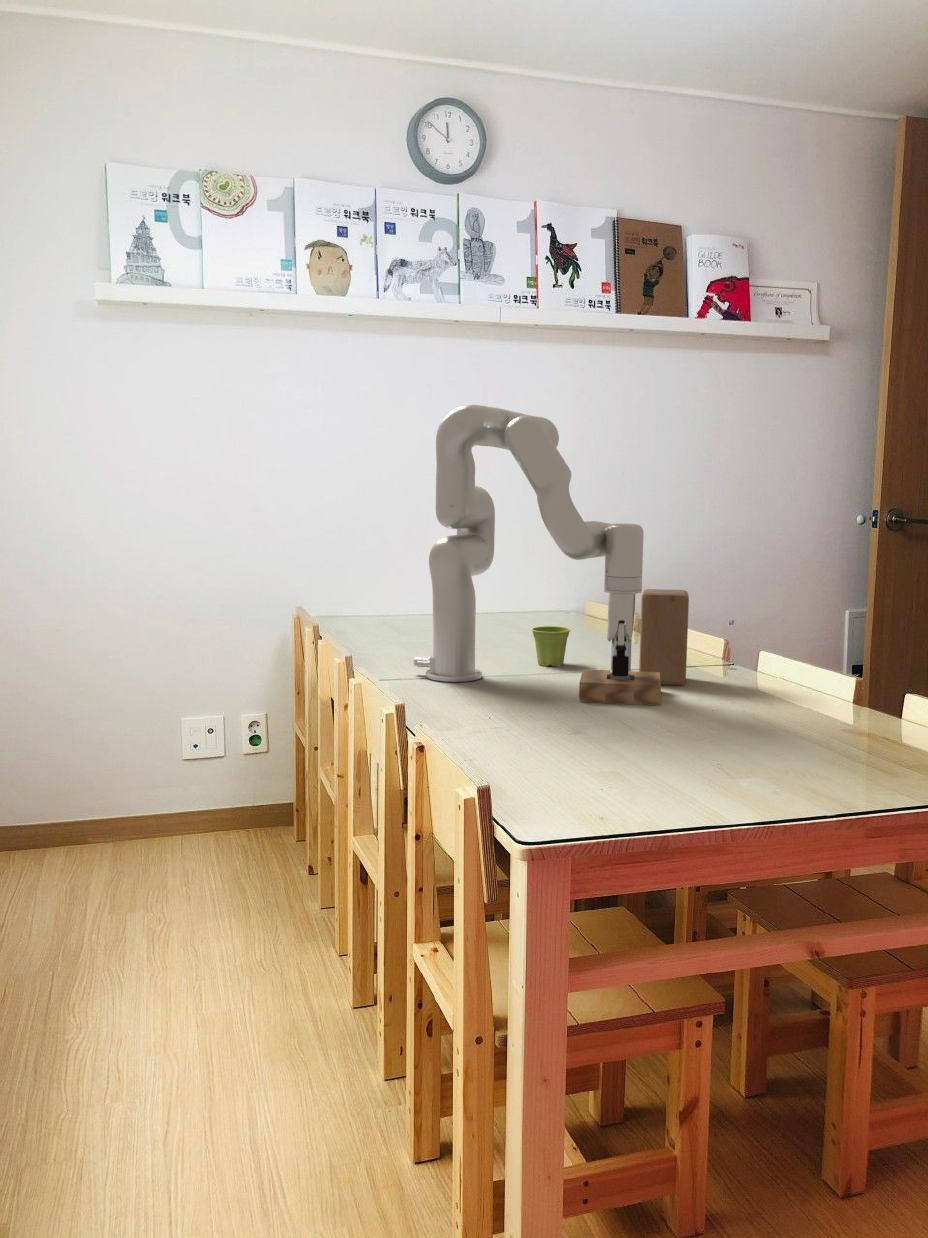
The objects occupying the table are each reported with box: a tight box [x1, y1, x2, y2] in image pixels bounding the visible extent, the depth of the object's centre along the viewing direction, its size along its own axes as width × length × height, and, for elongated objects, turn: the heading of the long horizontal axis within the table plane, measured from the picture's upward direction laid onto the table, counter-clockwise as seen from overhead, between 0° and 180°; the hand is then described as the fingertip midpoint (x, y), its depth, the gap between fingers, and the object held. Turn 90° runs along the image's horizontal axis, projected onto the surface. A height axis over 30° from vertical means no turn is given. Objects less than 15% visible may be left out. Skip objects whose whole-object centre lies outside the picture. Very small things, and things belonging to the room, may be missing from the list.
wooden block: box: [638, 588, 690, 686], centre depth 223 cm, size 10×10×20 cm
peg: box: [609, 634, 632, 680], centre depth 208 cm, size 4×4×12 cm
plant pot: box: [530, 625, 572, 667], centre depth 243 cm, size 9×9×9 cm
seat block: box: [578, 669, 662, 706], centre depth 208 cm, size 16×14×4 cm
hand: (620, 672), depth 208 cm, fingers closed on peg, 4 cm apart
